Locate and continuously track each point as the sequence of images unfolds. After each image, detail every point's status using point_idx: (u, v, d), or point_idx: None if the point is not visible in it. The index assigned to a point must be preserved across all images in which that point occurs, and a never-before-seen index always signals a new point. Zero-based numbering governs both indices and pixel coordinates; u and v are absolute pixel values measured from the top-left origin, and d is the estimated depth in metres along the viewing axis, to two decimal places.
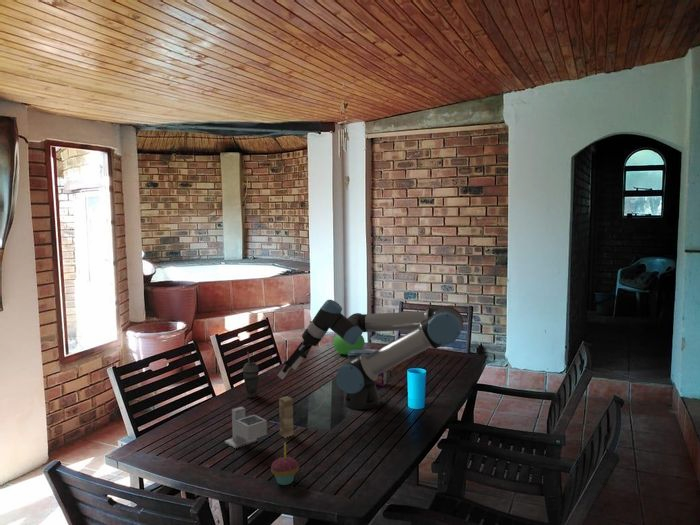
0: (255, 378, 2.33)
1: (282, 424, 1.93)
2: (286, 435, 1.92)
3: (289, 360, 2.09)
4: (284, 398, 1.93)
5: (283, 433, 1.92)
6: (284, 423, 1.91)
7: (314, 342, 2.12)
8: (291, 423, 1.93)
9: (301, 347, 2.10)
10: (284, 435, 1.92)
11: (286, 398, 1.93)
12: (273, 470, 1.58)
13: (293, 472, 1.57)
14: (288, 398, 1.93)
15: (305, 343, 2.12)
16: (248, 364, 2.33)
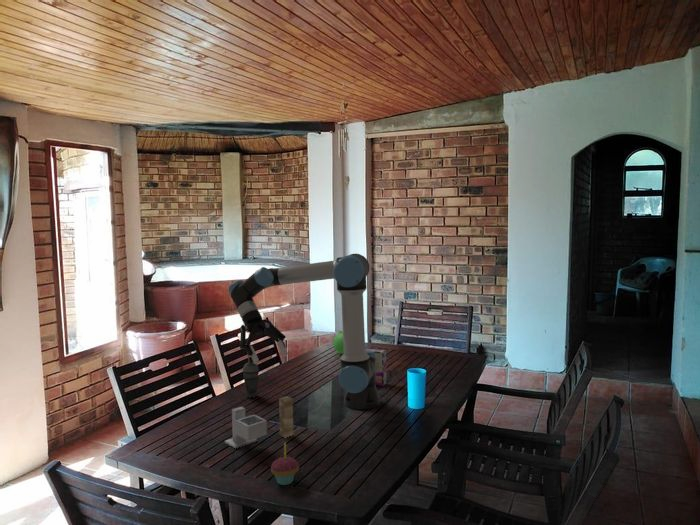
0: (255, 378, 2.33)
1: (282, 424, 1.93)
2: (286, 435, 1.92)
3: (240, 342, 2.03)
4: (284, 398, 1.93)
5: (283, 433, 1.92)
6: (284, 423, 1.91)
7: (248, 315, 2.10)
8: (291, 423, 1.93)
9: (240, 327, 2.07)
10: (284, 435, 1.92)
11: (286, 398, 1.93)
12: (273, 470, 1.58)
13: (293, 472, 1.57)
14: (288, 398, 1.93)
15: (246, 324, 2.10)
16: (248, 364, 2.33)
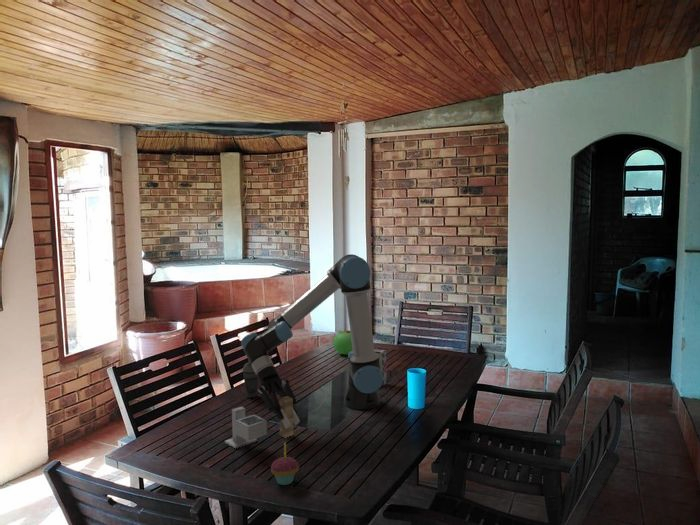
0: (255, 378, 2.33)
1: (282, 424, 1.93)
2: (286, 435, 1.92)
3: (268, 406, 1.91)
4: (284, 398, 1.93)
5: (283, 433, 1.92)
6: None
7: (264, 372, 1.97)
8: (291, 423, 1.93)
9: (259, 390, 1.93)
10: (284, 435, 1.92)
11: (286, 398, 1.93)
12: (273, 470, 1.58)
13: (293, 472, 1.57)
14: (288, 398, 1.93)
15: (261, 382, 1.97)
16: (248, 364, 2.33)
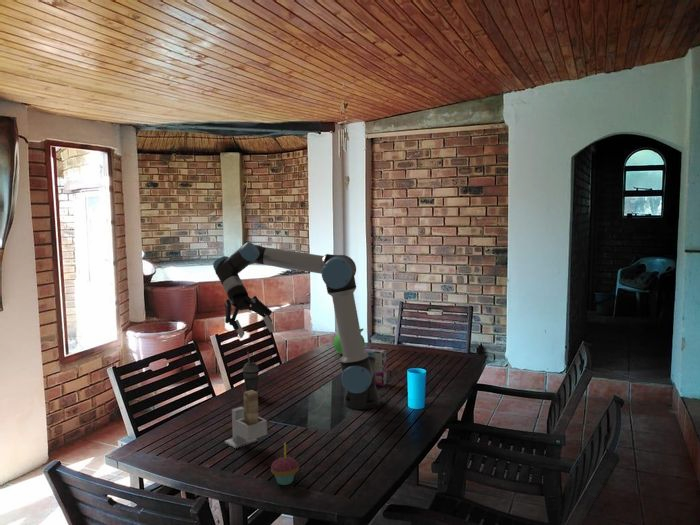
0: (255, 378, 2.33)
1: (246, 419, 1.82)
2: None
3: (226, 317, 2.00)
4: (249, 392, 1.82)
5: None
6: (248, 418, 1.81)
7: (233, 290, 2.07)
8: (256, 418, 1.82)
9: (226, 302, 2.04)
10: None
11: (251, 392, 1.82)
12: (273, 470, 1.58)
13: (293, 472, 1.57)
14: (253, 392, 1.82)
15: (231, 299, 2.07)
16: (248, 364, 2.33)
